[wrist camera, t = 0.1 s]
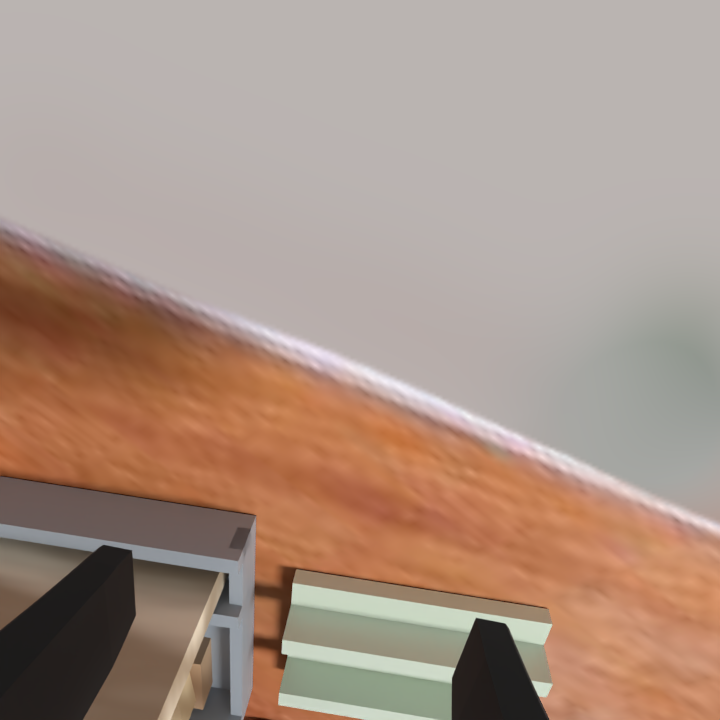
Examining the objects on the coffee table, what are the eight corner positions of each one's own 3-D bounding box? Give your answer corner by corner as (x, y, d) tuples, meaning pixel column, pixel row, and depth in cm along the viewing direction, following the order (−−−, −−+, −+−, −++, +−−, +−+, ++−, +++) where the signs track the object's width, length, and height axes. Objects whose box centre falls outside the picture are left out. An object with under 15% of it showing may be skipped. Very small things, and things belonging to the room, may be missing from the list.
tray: (252, 686, 29) (238, 737, 27) (48, 652, 30) (17, 699, 27) (255, 515, 23) (238, 561, 21) (1, 476, 24) (-44, 516, 21)
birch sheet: (229, 572, 24) (150, 771, 17) (22, 540, 24) (-141, 720, 17) (228, 549, 23) (146, 746, 16) (16, 516, 24) (-157, 694, 17)
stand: (507, 707, 28) (516, 762, 25) (288, 671, 28) (277, 722, 26) (548, 608, 24) (562, 662, 22) (296, 569, 25) (283, 617, 22)
